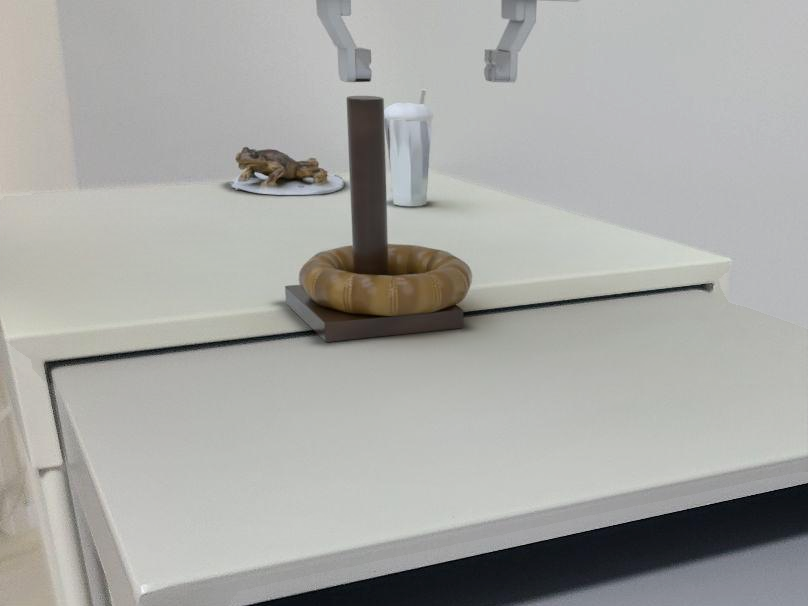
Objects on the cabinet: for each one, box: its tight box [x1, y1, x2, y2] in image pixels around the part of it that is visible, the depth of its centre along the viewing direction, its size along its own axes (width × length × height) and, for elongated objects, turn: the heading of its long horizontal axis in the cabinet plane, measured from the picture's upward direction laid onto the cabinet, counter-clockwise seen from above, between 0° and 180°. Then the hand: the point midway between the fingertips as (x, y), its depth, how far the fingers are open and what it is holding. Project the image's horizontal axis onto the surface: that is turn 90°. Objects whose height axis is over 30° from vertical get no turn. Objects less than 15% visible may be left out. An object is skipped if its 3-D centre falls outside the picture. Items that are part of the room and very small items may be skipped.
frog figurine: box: [229, 146, 345, 196], centre depth 108 cm, size 12×12×4 cm
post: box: [284, 95, 464, 343], centre depth 67 cm, size 9×9×13 cm
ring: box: [298, 243, 473, 316], centre depth 69 cm, size 11×11×2 cm
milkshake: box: [384, 89, 434, 208], centre depth 101 cm, size 4×5×10 cm
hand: (429, 81), depth 65 cm, fingers open, 8 cm apart
